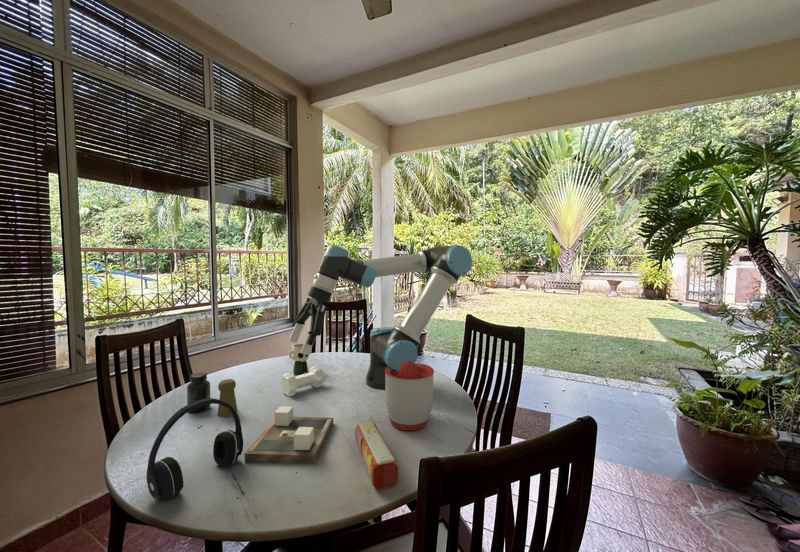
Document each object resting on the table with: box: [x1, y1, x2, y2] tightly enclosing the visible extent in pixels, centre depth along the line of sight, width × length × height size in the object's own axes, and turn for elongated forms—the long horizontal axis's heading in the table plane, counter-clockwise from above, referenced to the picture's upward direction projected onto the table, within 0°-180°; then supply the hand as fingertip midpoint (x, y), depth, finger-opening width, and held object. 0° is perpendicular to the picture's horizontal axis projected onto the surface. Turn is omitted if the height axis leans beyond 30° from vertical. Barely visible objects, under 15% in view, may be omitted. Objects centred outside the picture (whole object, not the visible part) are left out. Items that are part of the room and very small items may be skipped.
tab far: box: [274, 405, 294, 426], centre depth 101 cm, size 4×4×4 cm
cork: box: [217, 378, 238, 418], centre depth 111 cm, size 6×6×11 cm
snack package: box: [354, 421, 400, 490], centre depth 85 cm, size 21×7×7 cm, turn 19°
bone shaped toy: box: [280, 366, 325, 397], centre depth 131 cm, size 15×9×8 cm, turn 136°
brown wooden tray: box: [244, 416, 334, 464], centre depth 95 cm, size 18×20×2 cm
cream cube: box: [294, 427, 314, 450], centre depth 88 cm, size 4×4×4 cm
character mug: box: [288, 342, 313, 376], centre depth 149 cm, size 11×7×13 cm, turn 136°
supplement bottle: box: [186, 372, 212, 414], centre depth 114 cm, size 7×7×12 cm
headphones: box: [145, 397, 244, 500], centre depth 78 cm, size 20×7×18 cm, turn 148°
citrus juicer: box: [384, 360, 435, 431], centre depth 106 cm, size 16×17×20 cm
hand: (298, 347), depth 113 cm, fingers open, 13 cm apart
